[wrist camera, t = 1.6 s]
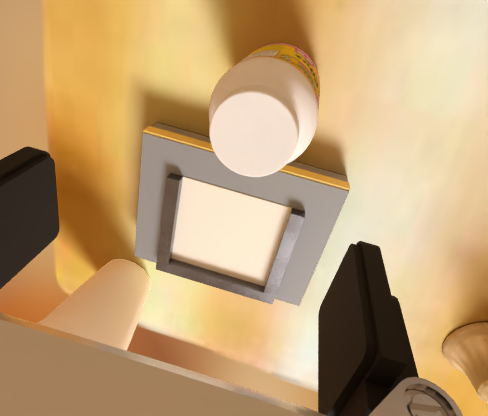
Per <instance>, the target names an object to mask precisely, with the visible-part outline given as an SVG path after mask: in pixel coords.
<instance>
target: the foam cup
mask: <svg viewBox="0 0 488 416" xmlns="http://www.w3.org/2000/svg"><path fill="white" fill-rule="evenodd" d="M151 287H152V286H151V280H150V277H149V276H148V274H147V273H146V271H145V270H144V269H143V268H142V267H140V266H139V265H137V264H136V263H135V262H132V261H129V260H126V259H113V260H111V261H109V262H108V263H106V264H105V265H104V266H103V267H101V268H100V269H99V270H98V271H97V272H96V273H95V274H94V275H93V276H91V277H90V278H89V279H88V280H87V281H86V282H85V283H84V284H82V285H81V286H80V287H79V288H78V289H77V290H76V291H75V292H74V293H72V294H71V295H70V296H69V297H68V298H67V299H66V300H65V301H64V302H62V303H61V304H60V305H59V306H58V307H57V308H56V309H55V310H54V311H52V312H51V313H50V314H49V315H48V316H47V317H46V318H45V319H43V320H42V321H40V322H38V323H37V324H40V325H44V326H47V327H50V328H53V329H57V330H60V331H63V332H67V333H70V334H73V335H77V336H80V337H83V338H86V339H90V340H93V341H96V342H100V343H103V344H106V345H109V346H113V347H116V348H119V349H122V350H126V351H127V348H128V346H129V343H130V341H131V338H132V336H133V333H134V331H135V328H136V325H137V323H138V320H139V318H140V315H141V313H142V310H143V308H144V305H145V303H146V300H147V297H148V295H149V292H150V289H151Z"/></svg>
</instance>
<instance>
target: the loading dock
mask: <svg viewBox="0 0 488 416" xmlns="http://www.w3.org/2000/svg"><path fill="white" fill-rule="evenodd" d="M170 173H173V174H177V175H180V176H183V180H182V187H181V194H180V201H179V208H178V215H177V222H176V230H175V237H174V244H173V251H172V259H175V260H178V261H182V262H185V263H188V264H192V265H195V266H198V267H202V268H205V269H208V270H212V271H215V272H218V273H222V274H225V275H228V276H231V277H235V278H238V279H241V280H245V281H248V282H251V283H255V284H258V285H261V286H265V285H266V282H267V279H268V276H269V273H270V270H271V267H272V264H273V262H274V259H275V256H276V253H277V250H278V247H279V244H280V241H281V238H282V235H283V233H284V230H285V227H286V224H287V221H288V218H289V215H290V212H291V209H292V208H294V209H298V210H301V211H305V218H304V221H303V223H302V226H301V229H300V231H299V234H298V237H297V239H296V242H295V245H294V247H293V250H292V253H291V255H290V258H289V261H288V263H287V266H286V269H285V271H284V274H283V277H282V279H281V282H280V285H279V287H278V290H277V293H276V295H275V298H274V299H278V300H281V301H284V302H288V303H291V304H294V305H298V306H299V305H300V303H301V301H302V298H303V296H304V294H305V291H306V289H307V287H308V285H309V282H310V280H311V278H312V275H313V273H314V271H315V268H316V266H317V264H318V262H319V259H320V257H321V255H322V252H323V250H324V248H325V246H326V243H327V241H328V239H329V236H330V234H331V232H332V229H333V227H334V225H335V223H336V220H337V218H338V216H339V213H340V211H341V209H342V206H343V204H344V202H345V200H346V197H347V195H348V193H349V190H350V186H349V182H348V180H347V176H345V175H341V174H338V173H334V172H331V171H327V170H324V169H320V168H317V167H313V166H310V165H306V164H303V163H299V162H295V161H291V162H290V163H288V164H286V165H285V166H284V167H283V168H281V169H280V170H278V171H277V172H275V173H272V174H270V175H266V176H262V177H249V176H244V175H240V174H238V173H236V172H234V171H232V170H230V169H229V168H228V167H226V166H225V165H224V164H223V163H222V162H221V161H220V160H219V158H218V157H217V156H216V154H215V152H214V150H213V148H212V145H211V141H210V137H207V136H204V135H200V134H197V133H193V132H189V131H186V130H182V129H179V128H175V127H172V126H168V125H165V124H161V123H158V122H156V123H155V124H154V125H152V126H148V127H147V128H146V129H144V130H143V138H142V153H141V168H140V183H139V197H138V212H137V227H136V242H135V256H136V257H139V258H142V259H146V260H149V261H152V262H156V263H157V256H158V247H159V238H160V229H161V220H162V211H163V203H164V194H165V185H166V177H167V176H168V175H169V174H170Z"/></svg>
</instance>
